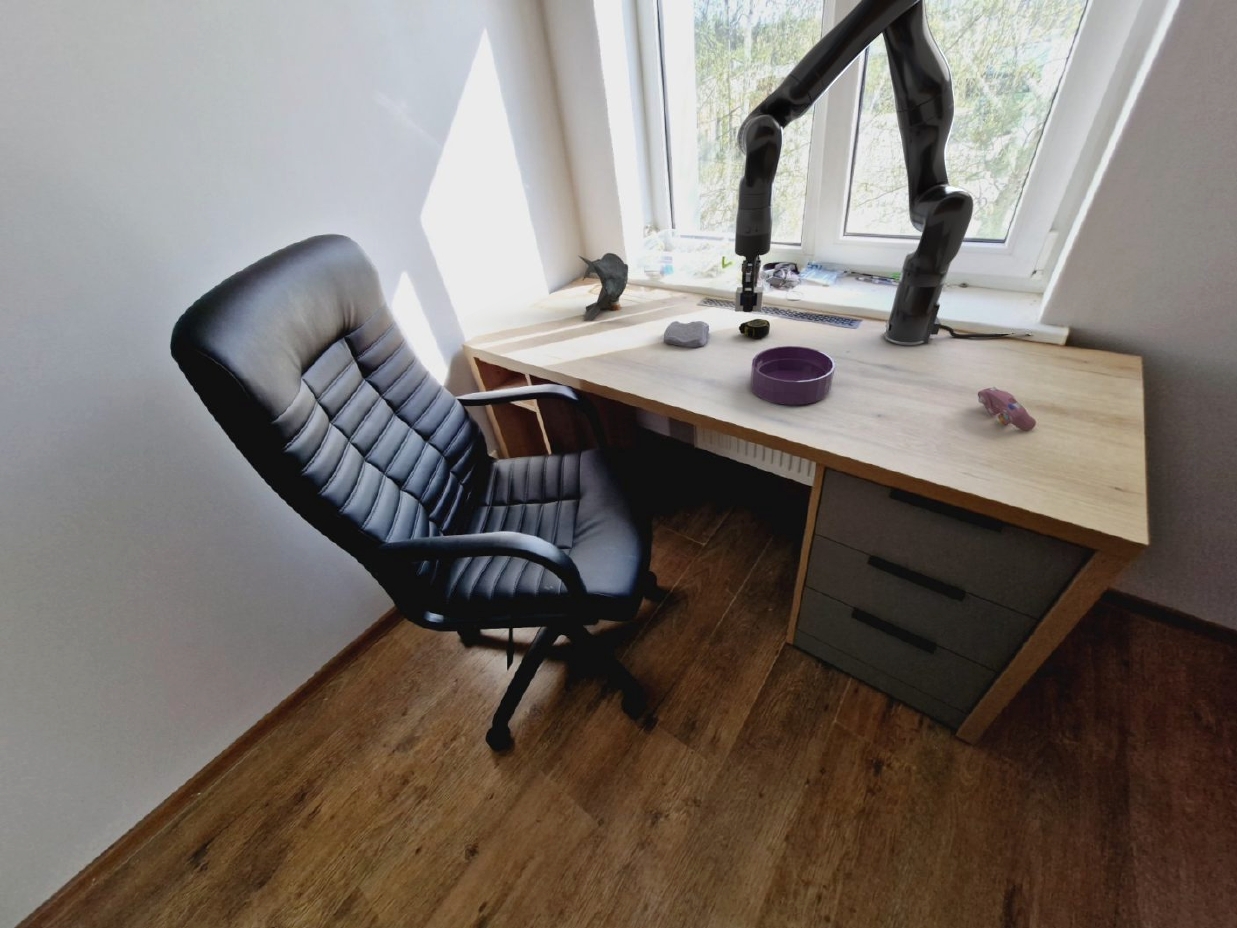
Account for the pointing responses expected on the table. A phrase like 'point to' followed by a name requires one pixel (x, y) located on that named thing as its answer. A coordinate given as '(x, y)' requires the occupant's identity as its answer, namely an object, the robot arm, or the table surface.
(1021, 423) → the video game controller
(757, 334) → the tape measure
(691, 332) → the stone block
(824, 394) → the bowl
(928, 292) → the robot arm
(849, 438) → the table surface
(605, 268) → the dark grey bird-shaped figure
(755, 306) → the white box
